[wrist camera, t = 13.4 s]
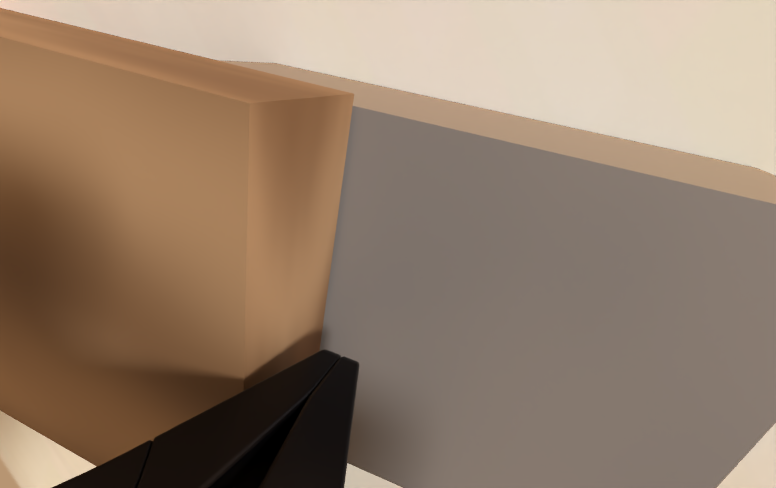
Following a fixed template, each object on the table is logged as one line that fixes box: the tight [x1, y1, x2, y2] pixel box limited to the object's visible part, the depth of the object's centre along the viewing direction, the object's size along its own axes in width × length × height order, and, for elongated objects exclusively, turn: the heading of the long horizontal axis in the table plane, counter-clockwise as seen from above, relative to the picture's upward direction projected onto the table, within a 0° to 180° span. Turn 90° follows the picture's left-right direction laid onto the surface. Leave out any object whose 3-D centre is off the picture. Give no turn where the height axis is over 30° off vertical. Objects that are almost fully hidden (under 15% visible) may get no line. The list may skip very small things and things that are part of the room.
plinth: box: [221, 61, 776, 488], centre depth 11 cm, size 10×14×5 cm
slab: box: [0, 8, 354, 466], centre depth 10 cm, size 10×16×3 cm, turn 79°
